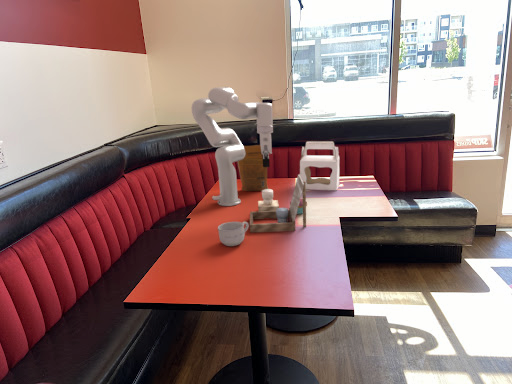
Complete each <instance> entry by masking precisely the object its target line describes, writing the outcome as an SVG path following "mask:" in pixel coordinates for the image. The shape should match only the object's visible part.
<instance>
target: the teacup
mask: <svg viewBox="0 0 512 384" xmlns="http://www.w3.org/2000/svg"><path fill="white" fill-rule="evenodd" d="M249 228H250V224H249V222H247V221H242V222H241V221H229V222H224V223H221V224H219V225H218V226H217V231H218V237H219V241H220V242H221V243H222V244H223V245H225V246H227V247H235V246H238V245H241V243H242V242H243V241H244V240H245V234H246V232H247V231H248V230H249Z"/></svg>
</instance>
